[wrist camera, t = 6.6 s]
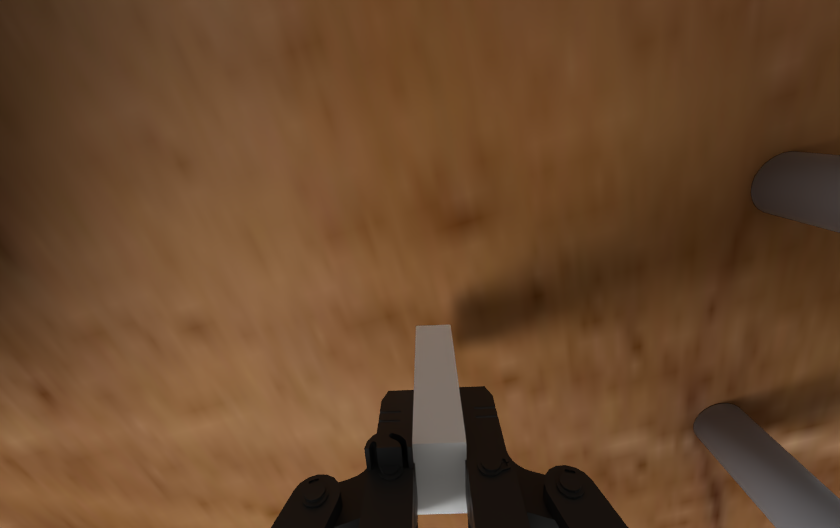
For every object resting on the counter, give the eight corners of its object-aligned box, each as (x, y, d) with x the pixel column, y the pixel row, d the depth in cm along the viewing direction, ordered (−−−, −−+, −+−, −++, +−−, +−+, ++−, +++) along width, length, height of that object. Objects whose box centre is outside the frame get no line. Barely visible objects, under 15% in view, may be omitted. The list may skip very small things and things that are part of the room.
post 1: (689, 442, 21) (864, 655, 13) (698, 404, 20) (893, 605, 12) (737, 441, 21) (945, 653, 13) (749, 402, 20) (981, 603, 12)
